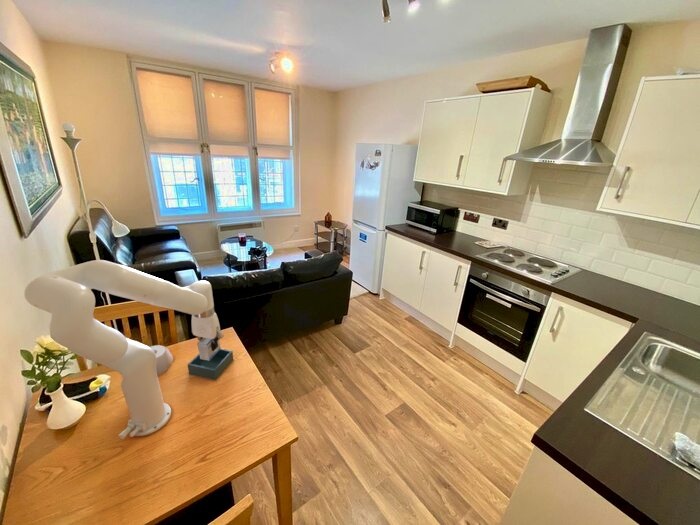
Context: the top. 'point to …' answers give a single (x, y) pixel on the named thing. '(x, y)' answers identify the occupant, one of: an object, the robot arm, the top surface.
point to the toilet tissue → (162, 358)
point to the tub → (211, 365)
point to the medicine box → (207, 349)
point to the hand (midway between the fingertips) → (209, 347)
